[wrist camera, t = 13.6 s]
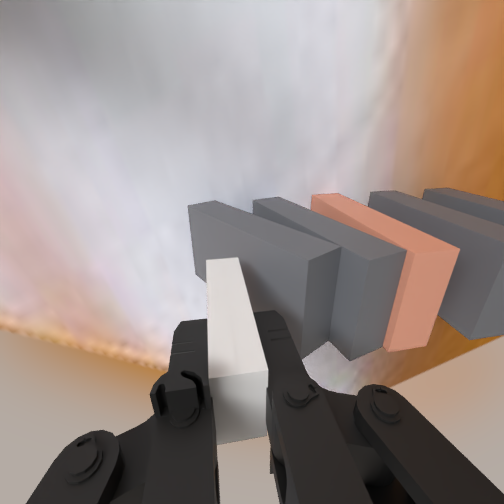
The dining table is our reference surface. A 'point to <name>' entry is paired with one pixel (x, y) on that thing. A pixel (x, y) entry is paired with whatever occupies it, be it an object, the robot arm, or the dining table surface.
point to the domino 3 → (413, 273)
